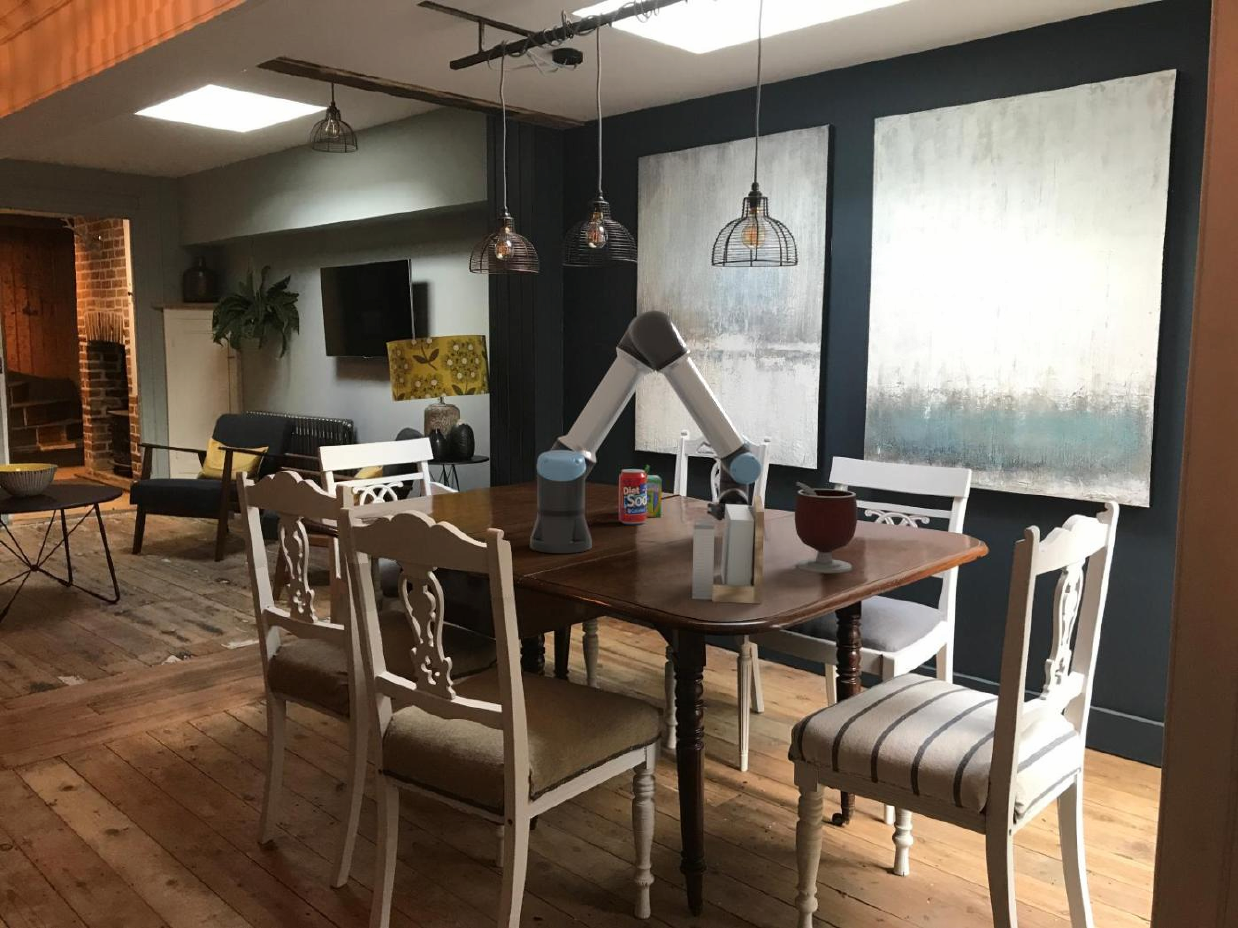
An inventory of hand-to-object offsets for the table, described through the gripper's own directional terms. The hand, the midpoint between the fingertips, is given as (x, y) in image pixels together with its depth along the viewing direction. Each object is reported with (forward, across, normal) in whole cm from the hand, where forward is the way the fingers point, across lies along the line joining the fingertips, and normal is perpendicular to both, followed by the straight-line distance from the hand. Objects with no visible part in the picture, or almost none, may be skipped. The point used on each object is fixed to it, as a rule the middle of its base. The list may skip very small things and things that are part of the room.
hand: (733, 521), depth 227 cm
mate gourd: (-1, -20, -10) cm, 23 cm away
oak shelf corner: (+23, 0, -10) cm, 25 cm away
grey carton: (+29, +6, -10) cm, 31 cm away
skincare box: (+20, -1, -10) cm, 23 cm away
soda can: (-51, +28, -11) cm, 59 cm away
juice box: (-65, +26, -11) cm, 71 cm away
